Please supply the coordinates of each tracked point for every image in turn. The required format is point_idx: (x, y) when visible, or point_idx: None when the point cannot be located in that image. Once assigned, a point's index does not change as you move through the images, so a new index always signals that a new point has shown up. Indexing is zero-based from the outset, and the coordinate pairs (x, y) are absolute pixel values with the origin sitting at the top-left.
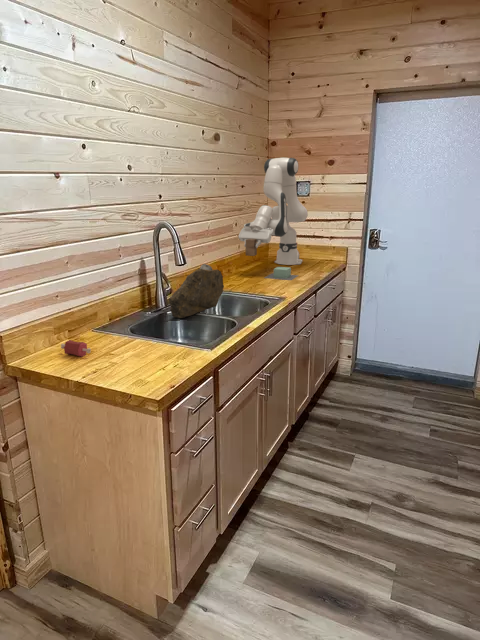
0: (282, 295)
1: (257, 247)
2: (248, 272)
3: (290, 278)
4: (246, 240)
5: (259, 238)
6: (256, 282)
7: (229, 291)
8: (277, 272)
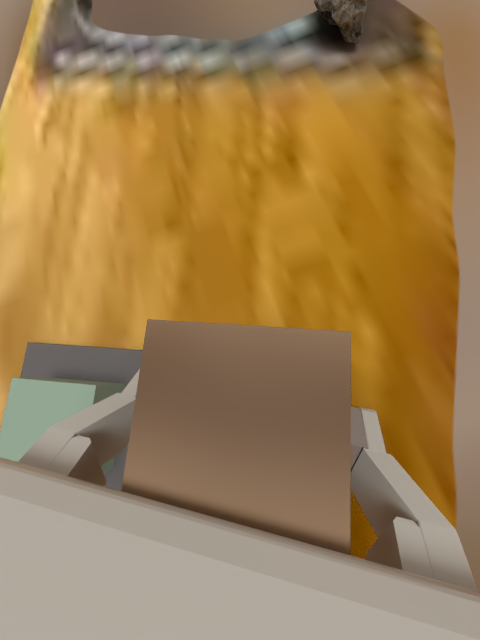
0: (47, 99)
1: None
2: None
3: None
4: (321, 330)
5: (6, 476)
6: (191, 261)
7: (251, 73)
8: (84, 382)
